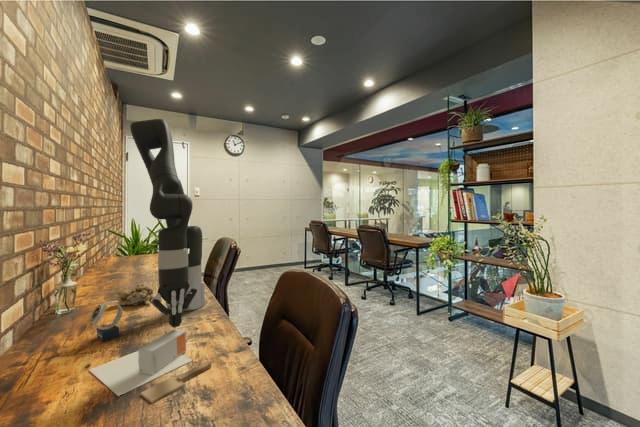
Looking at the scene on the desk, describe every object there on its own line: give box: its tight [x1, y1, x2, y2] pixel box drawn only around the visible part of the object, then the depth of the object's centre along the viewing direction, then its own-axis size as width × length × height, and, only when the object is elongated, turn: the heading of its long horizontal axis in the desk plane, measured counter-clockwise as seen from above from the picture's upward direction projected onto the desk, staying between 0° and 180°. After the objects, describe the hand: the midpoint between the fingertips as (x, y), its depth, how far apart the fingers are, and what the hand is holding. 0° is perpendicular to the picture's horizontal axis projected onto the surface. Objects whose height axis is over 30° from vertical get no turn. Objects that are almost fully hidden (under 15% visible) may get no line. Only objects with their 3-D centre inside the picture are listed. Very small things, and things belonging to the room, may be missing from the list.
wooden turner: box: [140, 360, 212, 404], centre depth 67 cm, size 15×5×1 cm, turn 145°
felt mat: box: [88, 350, 193, 397], centre depth 74 cm, size 17×18×1 cm
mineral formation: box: [115, 282, 155, 307], centre depth 123 cm, size 8×13×15 cm
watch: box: [90, 301, 124, 343], centre depth 90 cm, size 6×8×11 cm
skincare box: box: [137, 328, 187, 375], centre depth 75 cm, size 6×4×12 cm
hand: (175, 326), depth 81 cm, fingers closed
